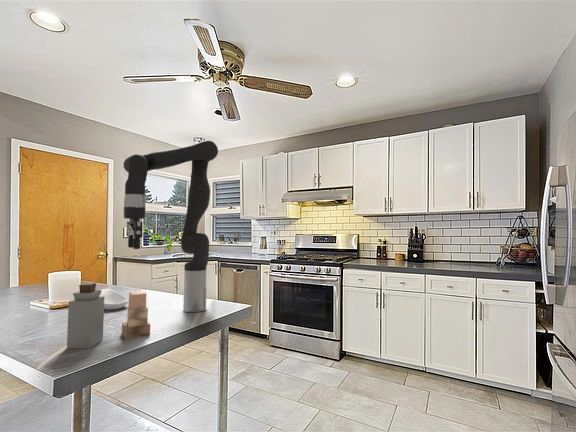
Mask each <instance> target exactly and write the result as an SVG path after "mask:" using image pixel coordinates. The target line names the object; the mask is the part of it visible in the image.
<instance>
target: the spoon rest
mask: <svg viewBox="0 0 576 432" xmlns="http://www.w3.org/2000/svg"><path fill="white" fill-rule="evenodd" d="M99 290H101V292H100V295H99V296H104V310H106V311H113V310H119V309H122V308H123V307H124V308H125V306H126V305H127V304H129V297H127V296H125V295H123V294H122V293H121V294H120V293H119V292H117V291H115V290H113V289H111V288H104V289H103V288H100V289H99Z"/></svg>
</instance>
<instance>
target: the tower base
mask: <svg viewBox="0 0 576 432" xmlns="http://www.w3.org/2000/svg"><path fill="white" fill-rule="evenodd" d="M121 335H122V336H123V338H124V339H125V341H128V340H133V339H138V338H139V337H140V338H145V337H149V335H151V323H150V322H149V321H147V325H142V326H134V327H128V323H127V321H124V322H121ZM144 336H145V337H144Z"/></svg>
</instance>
